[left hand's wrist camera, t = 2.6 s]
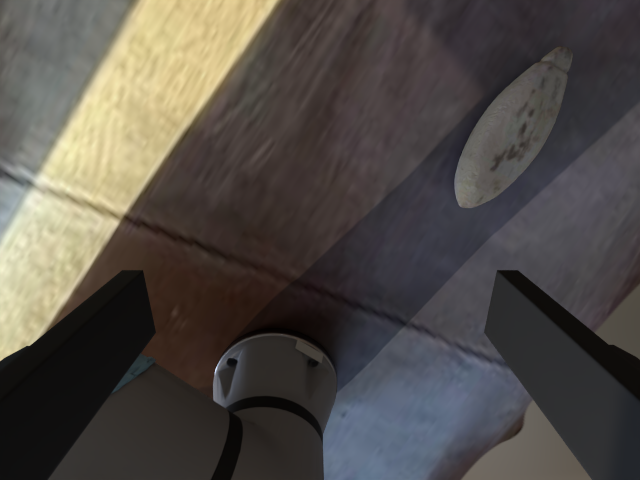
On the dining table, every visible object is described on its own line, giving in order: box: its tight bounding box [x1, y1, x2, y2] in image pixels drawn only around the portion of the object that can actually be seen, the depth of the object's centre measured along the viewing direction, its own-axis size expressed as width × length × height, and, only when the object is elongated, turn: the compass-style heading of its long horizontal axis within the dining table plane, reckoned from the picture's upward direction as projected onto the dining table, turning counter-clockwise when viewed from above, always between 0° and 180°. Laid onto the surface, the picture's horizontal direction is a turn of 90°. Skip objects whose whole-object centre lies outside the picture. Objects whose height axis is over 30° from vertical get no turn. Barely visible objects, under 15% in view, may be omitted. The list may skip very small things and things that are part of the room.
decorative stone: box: [454, 46, 573, 208], centre depth 31 cm, size 6×16×3 cm, turn 155°
